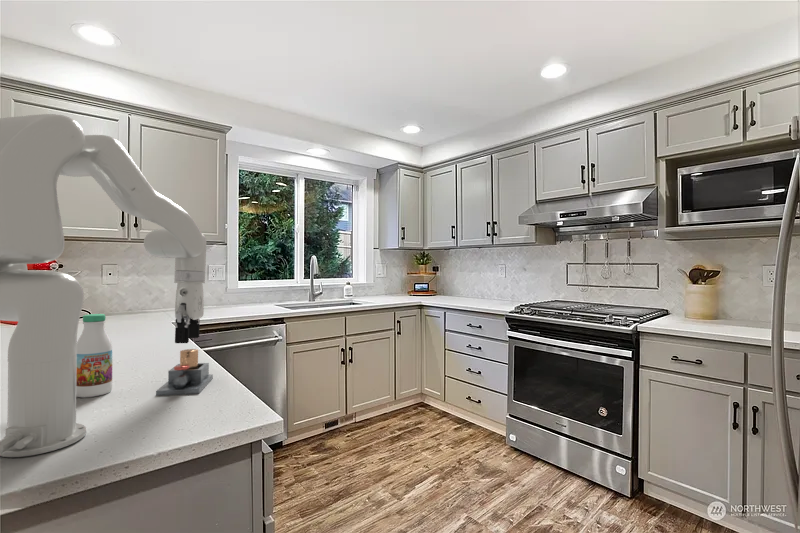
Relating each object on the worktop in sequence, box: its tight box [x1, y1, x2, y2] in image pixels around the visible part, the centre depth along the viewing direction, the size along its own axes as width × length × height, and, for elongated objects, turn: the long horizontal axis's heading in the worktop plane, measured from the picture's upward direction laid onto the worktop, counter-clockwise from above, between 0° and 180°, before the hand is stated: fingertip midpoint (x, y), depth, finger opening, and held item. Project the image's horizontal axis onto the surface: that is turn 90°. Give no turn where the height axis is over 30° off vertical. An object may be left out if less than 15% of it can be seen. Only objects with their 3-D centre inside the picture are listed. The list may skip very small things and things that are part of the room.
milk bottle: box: [76, 313, 113, 398], centre depth 103 cm, size 8×8×20 cm
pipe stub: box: [179, 348, 199, 370], centre depth 112 cm, size 4×4×8 cm
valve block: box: [155, 362, 214, 396], centre depth 110 cm, size 14×10×6 cm
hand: (187, 340), depth 111 cm, fingers open, 9 cm apart
